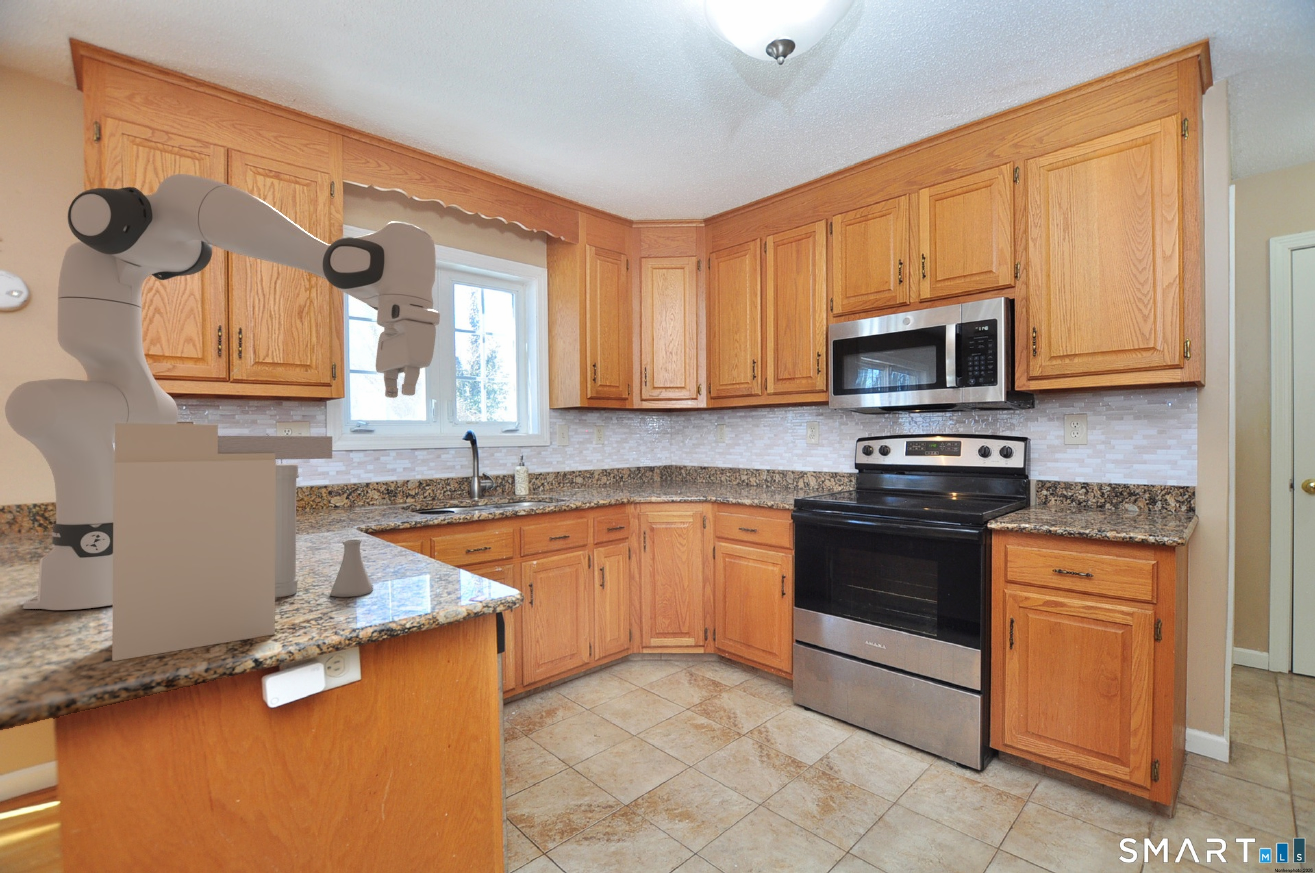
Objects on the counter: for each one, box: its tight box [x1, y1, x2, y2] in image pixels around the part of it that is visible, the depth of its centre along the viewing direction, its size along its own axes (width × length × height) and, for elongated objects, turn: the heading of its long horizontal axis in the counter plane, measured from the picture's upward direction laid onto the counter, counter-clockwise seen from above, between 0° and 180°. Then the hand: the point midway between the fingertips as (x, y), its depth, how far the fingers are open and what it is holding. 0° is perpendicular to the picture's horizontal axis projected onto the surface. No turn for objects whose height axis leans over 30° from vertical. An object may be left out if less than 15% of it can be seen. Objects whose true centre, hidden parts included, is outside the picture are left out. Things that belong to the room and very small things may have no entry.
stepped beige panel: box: [111, 423, 277, 662], centre depth 88 cm, size 10×18×31 cm, turn 128°
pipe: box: [265, 433, 300, 599], centre depth 112 cm, size 6×6×30 cm
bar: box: [218, 435, 333, 460], centre depth 93 cm, size 4×18×4 cm, turn 127°
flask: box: [329, 538, 374, 598], centre depth 113 cm, size 7×7×10 cm
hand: (399, 396), depth 104 cm, fingers open, 8 cm apart
